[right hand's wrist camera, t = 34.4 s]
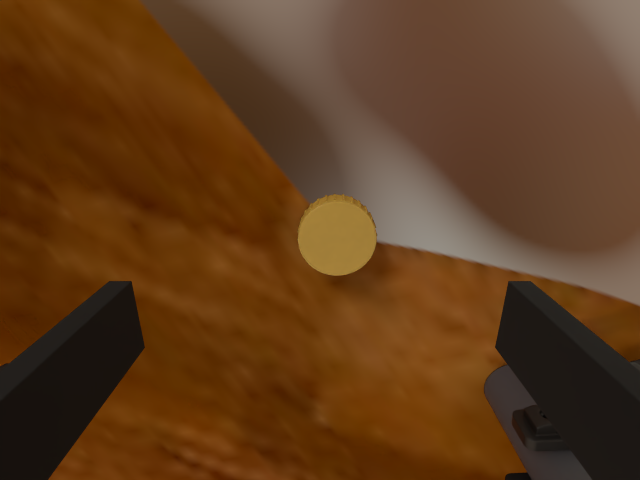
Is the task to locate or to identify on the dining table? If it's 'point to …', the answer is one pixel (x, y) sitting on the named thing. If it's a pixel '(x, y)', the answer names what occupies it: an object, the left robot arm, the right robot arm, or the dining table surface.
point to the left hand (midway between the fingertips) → (515, 463)
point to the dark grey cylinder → (542, 466)
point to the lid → (337, 235)
